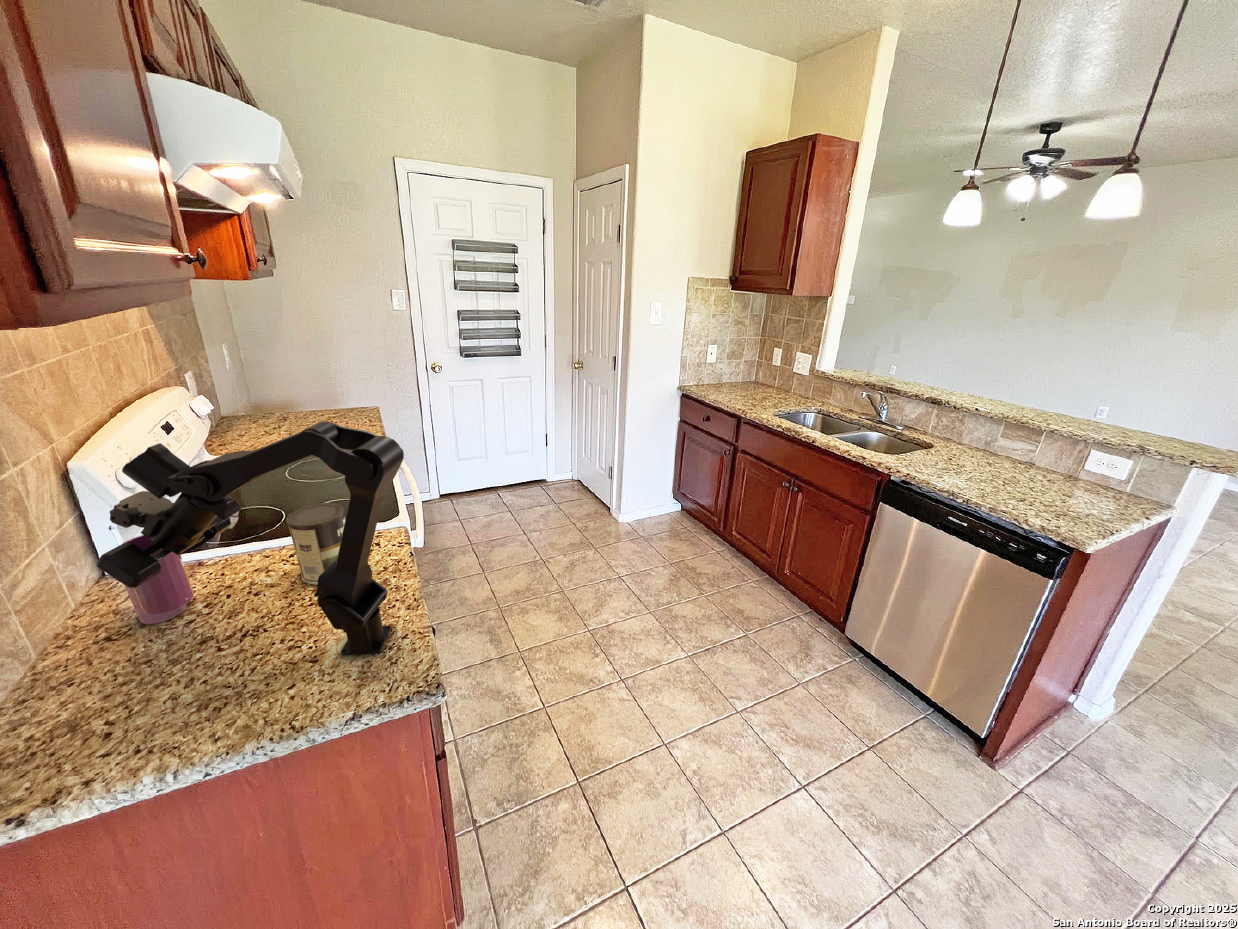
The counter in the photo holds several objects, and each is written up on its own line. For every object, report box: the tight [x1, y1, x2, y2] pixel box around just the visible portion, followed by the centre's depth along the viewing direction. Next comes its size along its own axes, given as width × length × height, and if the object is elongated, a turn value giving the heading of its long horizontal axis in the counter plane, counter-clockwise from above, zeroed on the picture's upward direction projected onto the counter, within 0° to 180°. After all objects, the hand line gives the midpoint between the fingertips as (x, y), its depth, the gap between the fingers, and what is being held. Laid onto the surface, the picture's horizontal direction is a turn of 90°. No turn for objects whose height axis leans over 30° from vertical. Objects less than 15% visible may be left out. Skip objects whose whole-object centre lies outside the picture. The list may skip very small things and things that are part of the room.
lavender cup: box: [124, 585, 188, 625], centre depth 91 cm, size 7×7×12 cm
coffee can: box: [285, 502, 346, 586], centre depth 104 cm, size 10×10×14 cm
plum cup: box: [123, 534, 195, 614], centre depth 83 cm, size 7×7×12 cm
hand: (148, 569), depth 83 cm, fingers closed on plum cup, 7 cm apart
